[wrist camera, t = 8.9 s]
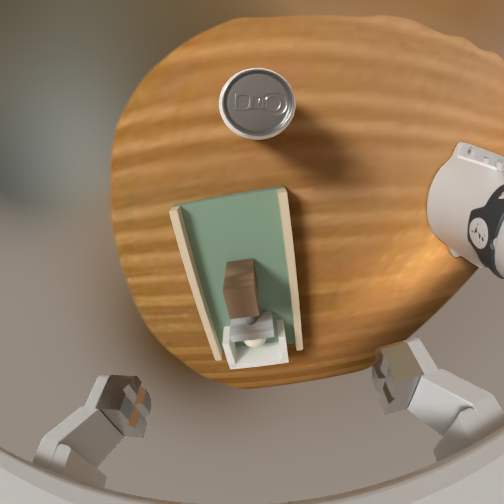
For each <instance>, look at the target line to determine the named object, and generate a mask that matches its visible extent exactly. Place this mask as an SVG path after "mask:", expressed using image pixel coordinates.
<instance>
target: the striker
mask: <svg viewBox="0 0 504 504" xmlns="http://www.w3.org/2000/svg"><path fill="white" fill-rule="evenodd" d="M223 295H224V299H225V303H226V306H227V310H228V314H229V318H230V319H231V320H230V333H229V337H230V340H231V342H237V341H246V340H254V339H262V338H269V337H274V328H273V318H272V312H271V311H265V312H259V298H258V282H257V277H256V271H255V266H254V260H253V258H251V259H244V260H237V261H231V262H227V264H226V271H225V278H224V285H223Z"/></svg>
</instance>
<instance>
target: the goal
mask: <svg viewBox="0 0 504 504" xmlns="http://www.w3.org/2000/svg"><path fill="white" fill-rule="evenodd" d="M276 322H277V330H278V338H279V341H277V342H270V343H264V344H263V345H262V346H261V347H258V348H251V347H249V346H247V345H246V346H237V347H236V344H235V342H231V340H230V337H229V333H230V326H226V327H224V332H223V342H222V346H223V349H224V352H225V355H226V358H227V361H228V364H229V367H230V369H239V368H248V367H257V366H266V365H273V364H281V363H288V362H289V360H288V352H287V344H286V336H285V330H284V323H283V319H280V320H276Z"/></svg>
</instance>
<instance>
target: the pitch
mask: <svg viewBox="0 0 504 504" xmlns="http://www.w3.org/2000/svg"><path fill="white" fill-rule="evenodd" d="M169 213H170V217H171V221H172V225H173V228H174V232H175V235H176V239H177V243H178V246H179V250H180V253H181V256H182V260H183V263H184V267H185V270H186V273H187V277H188V280H189V283H190V286H191V289H192V293H193V296H194V299H195V302H196V305H197V308H198V311H199V314H200V317H201V320H202V323H203V326H204V329H205V332H206V335H207V338H208V340H209V343H210V346H211V349H212V352H213V354H214V357H215V360H216V361H217V360H222V352H224V349H223V346H222V342H223V332H224V327H226V326H230V320H231V319H230V318H229V314H228V310H227V306H226V303H225V299H224V295H223V285H224V278H225V271H226V264H227V262H231V261H237V260H244V259H251V258H253V260H254V266H255V271H256V277H257V282H258V298H259V312H265V311H271V312H272V318H273V328H274V337H269V338H266V341H265V343H270V342H277V341H279V338H278V330H277V322H276V320H280V319H283V323H284V330H285V336H286V344H293V343H295V344H296V350H297V351H299V350H303V343H302V330H301V318H300V306H299V295H298V285H297V275H296V265H295V255H294V246H293V237H292V229H291V221H290V212H289V204H288V197H287V191H286V189H285V187H284V186H279V187H273V188H266V189H259V190H253V191H247V192H241V193H235V194H229V195H223V196H217V197H212V198H206V199H201V200H196V201H190V202H185V203H180V204H175V205H174V206H173V208H172V209H171V210H170V211H169ZM235 344H236V347H237V346H246V344H245V342H244V341H237V342H235Z"/></svg>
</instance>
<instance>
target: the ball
mask: <svg viewBox="0 0 504 504" xmlns="http://www.w3.org/2000/svg"><path fill="white" fill-rule="evenodd" d="M265 341H266V338H262V339H254V340H246V341H244V342H245V344H246V345H247V346H249V347H251V348H258V347H261V346H262V345H263V344H264V343H265Z"/></svg>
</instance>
